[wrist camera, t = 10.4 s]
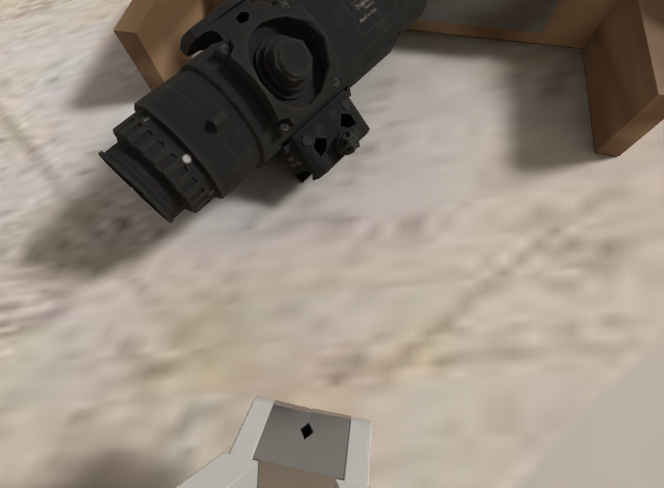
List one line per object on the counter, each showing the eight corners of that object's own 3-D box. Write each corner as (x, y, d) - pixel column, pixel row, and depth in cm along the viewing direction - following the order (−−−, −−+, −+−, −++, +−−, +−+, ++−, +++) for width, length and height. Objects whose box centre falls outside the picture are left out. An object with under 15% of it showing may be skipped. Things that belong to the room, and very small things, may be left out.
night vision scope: (203, 258, 19) (40, 103, 15) (393, 79, 25) (306, -69, 21) (237, 282, 12) (-44, 13, 9) (492, 26, 18) (389, -211, 14)
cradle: (153, 93, 21) (113, 30, 17) (203, -5, 24) (179, -75, 20) (618, 156, 18) (688, 98, 15) (601, 37, 22) (654, -35, 18)
